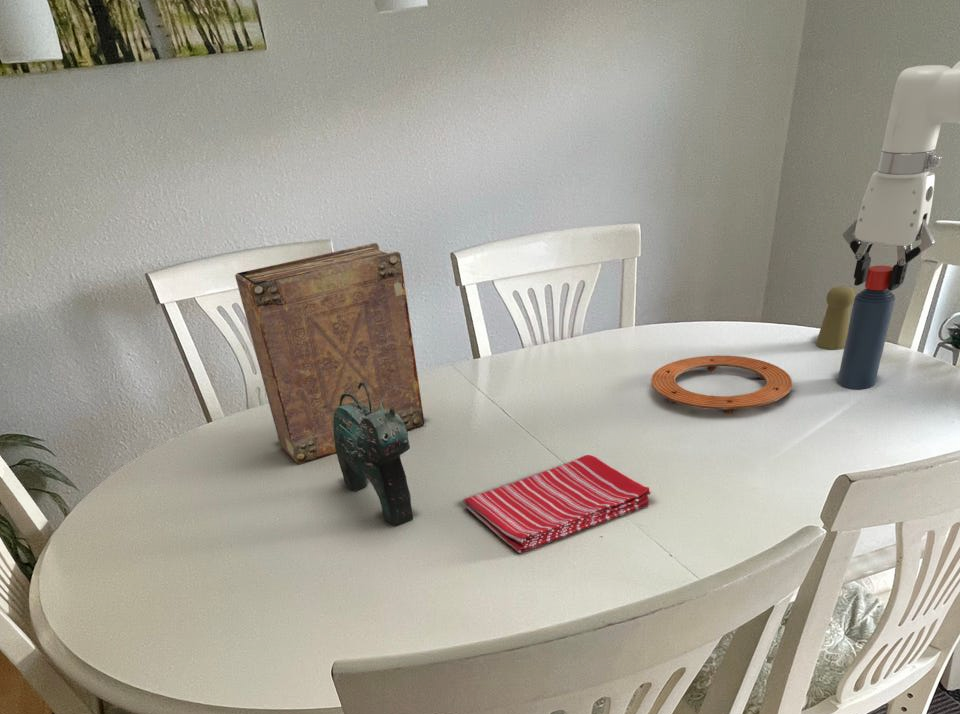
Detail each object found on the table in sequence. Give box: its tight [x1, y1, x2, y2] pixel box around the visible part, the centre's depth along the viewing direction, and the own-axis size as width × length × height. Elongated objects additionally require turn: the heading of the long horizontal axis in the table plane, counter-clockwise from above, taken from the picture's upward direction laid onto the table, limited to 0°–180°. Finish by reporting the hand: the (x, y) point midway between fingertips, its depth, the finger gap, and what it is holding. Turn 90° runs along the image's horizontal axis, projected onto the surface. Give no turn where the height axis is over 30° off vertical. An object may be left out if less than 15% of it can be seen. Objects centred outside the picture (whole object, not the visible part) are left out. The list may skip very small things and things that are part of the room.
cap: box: [864, 265, 893, 291], centre depth 133 cm, size 4×4×3 cm
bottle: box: [836, 288, 896, 390], centre depth 138 cm, size 6×6×19 cm
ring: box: [650, 355, 793, 414], centre depth 146 cm, size 25×25×2 cm
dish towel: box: [462, 454, 651, 554], centre depth 117 cm, size 17×24×3 cm
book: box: [234, 242, 425, 465], centre depth 135 cm, size 25×9×30 cm, turn 120°
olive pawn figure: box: [815, 285, 856, 350], centre depth 156 cm, size 6×6×11 cm
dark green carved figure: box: [333, 382, 414, 527], centre depth 117 cm, size 20×6×20 cm, turn 33°
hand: (876, 284), depth 133 cm, fingers open, 5 cm apart
